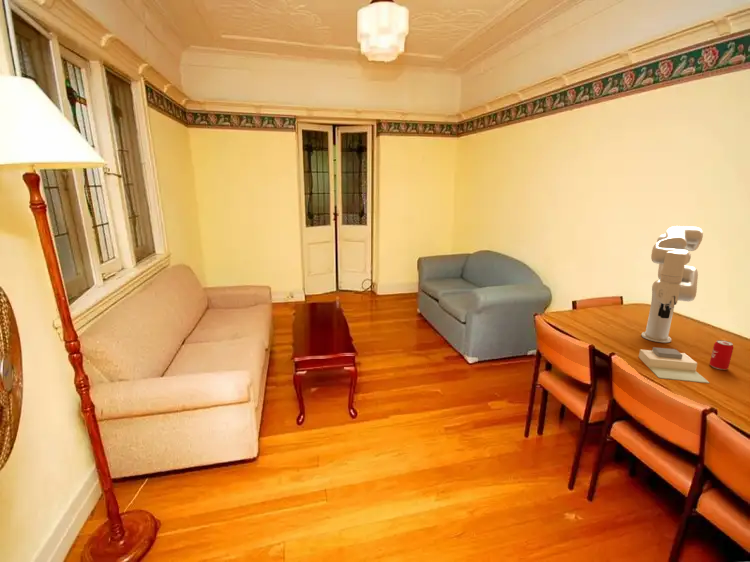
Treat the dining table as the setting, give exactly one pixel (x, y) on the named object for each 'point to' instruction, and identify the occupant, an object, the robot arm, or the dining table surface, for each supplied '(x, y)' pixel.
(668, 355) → the slate coaster
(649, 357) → the block
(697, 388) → the dining table surface
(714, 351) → the beverage can
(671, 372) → the mat
